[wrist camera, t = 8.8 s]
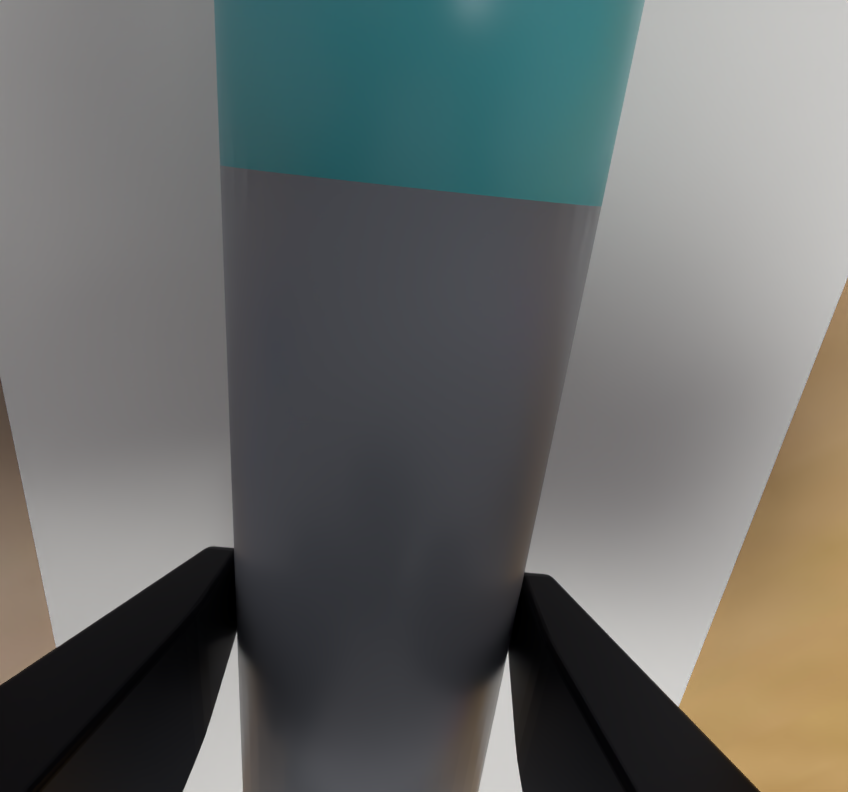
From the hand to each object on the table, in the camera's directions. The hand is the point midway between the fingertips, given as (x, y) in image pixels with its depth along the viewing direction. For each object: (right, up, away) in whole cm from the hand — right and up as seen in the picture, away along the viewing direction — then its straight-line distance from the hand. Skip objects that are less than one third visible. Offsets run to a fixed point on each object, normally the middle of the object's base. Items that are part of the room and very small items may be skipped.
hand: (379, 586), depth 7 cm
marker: (-1, +1, +2) cm, 2 cm away
